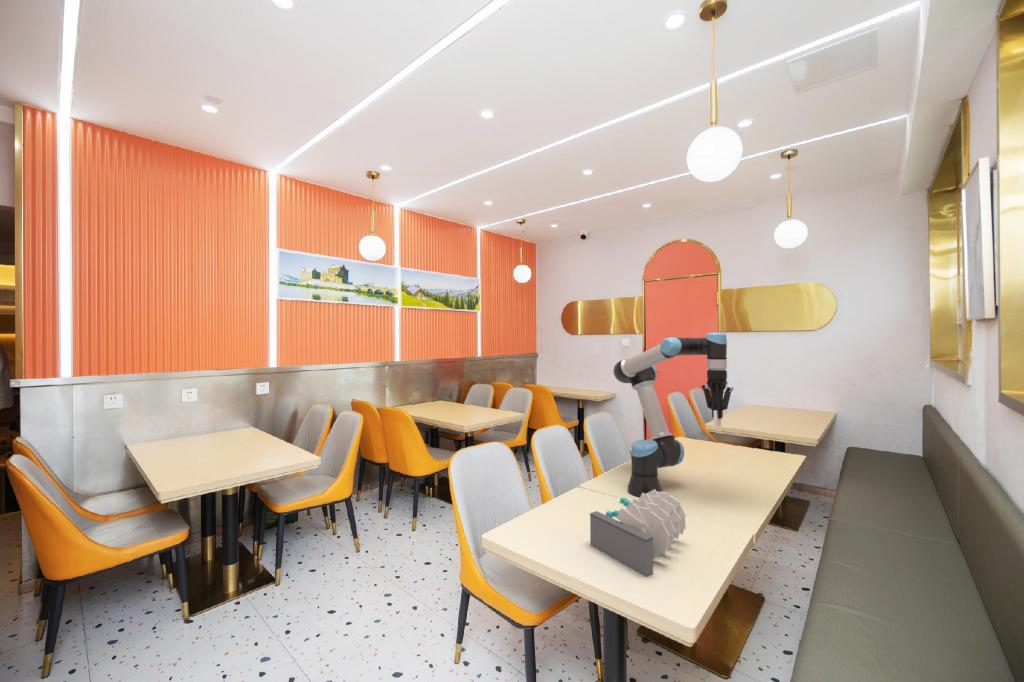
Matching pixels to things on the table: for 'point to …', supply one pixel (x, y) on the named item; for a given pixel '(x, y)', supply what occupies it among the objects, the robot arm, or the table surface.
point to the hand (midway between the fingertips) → (717, 426)
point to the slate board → (622, 542)
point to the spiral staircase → (656, 519)
